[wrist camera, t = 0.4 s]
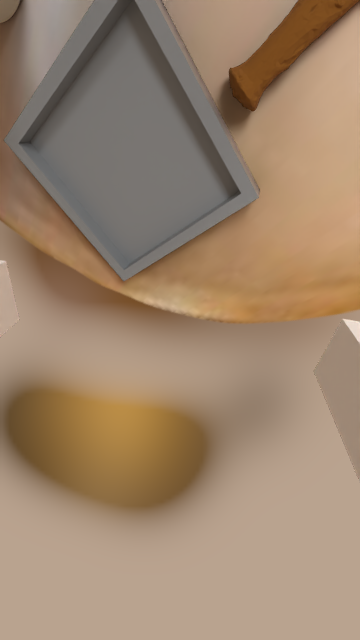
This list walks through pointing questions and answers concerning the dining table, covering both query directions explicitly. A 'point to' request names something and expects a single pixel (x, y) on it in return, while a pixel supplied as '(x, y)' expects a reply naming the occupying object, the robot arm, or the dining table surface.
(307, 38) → the primitive tool
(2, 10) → the travel mug
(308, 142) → the dining table surface
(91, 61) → the tray
